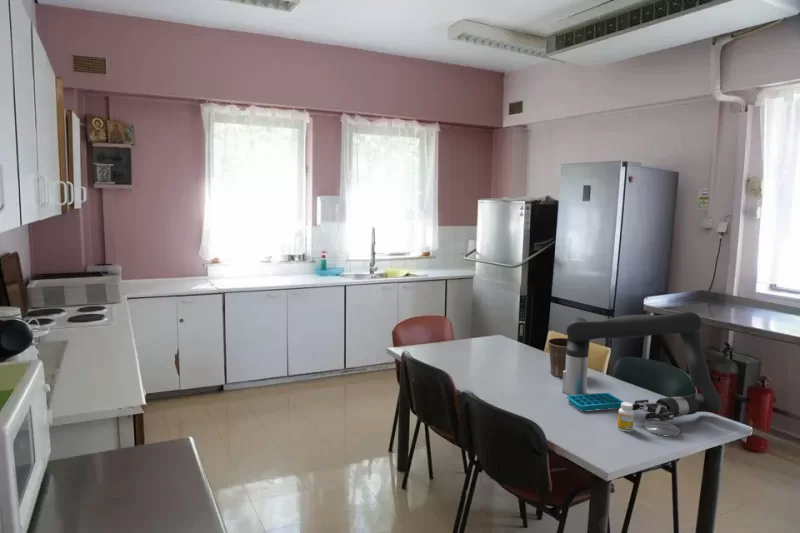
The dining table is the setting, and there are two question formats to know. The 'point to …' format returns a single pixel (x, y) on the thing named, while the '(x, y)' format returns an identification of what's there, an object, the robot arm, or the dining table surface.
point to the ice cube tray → (594, 401)
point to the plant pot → (557, 356)
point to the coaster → (662, 428)
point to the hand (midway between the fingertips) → (637, 412)
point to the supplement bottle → (626, 417)
